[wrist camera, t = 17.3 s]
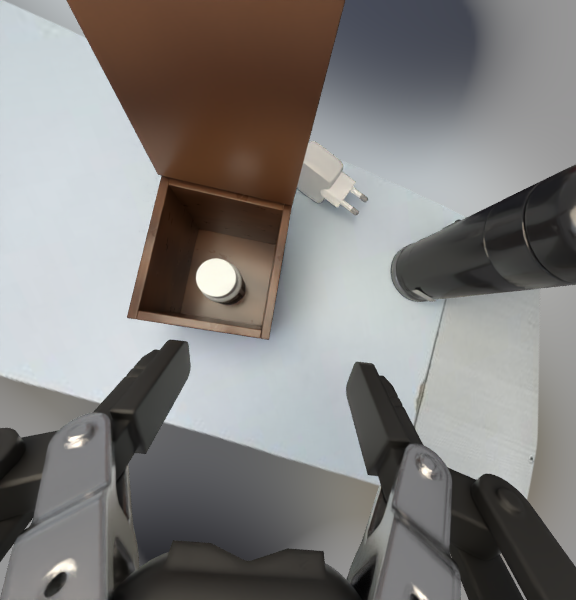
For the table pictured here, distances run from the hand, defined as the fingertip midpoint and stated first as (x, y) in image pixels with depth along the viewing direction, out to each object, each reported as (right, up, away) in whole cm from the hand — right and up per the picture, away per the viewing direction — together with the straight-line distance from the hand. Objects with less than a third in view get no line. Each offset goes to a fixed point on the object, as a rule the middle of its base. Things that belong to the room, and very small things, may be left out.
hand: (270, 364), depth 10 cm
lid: (-4, +15, +3) cm, 16 cm away
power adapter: (+7, +19, +24) cm, 31 cm away
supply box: (-7, +6, +20) cm, 23 cm away
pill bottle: (-8, +5, +20) cm, 21 cm away
